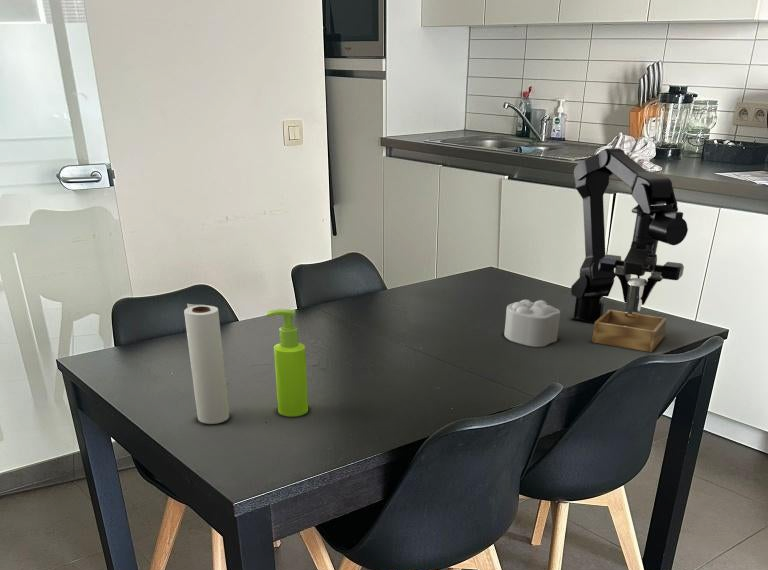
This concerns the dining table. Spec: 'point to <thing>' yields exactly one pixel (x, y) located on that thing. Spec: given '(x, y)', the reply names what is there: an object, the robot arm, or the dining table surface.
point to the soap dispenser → (290, 368)
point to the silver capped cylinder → (635, 296)
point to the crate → (629, 330)
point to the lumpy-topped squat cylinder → (532, 323)
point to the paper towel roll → (207, 363)
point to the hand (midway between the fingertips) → (634, 303)
